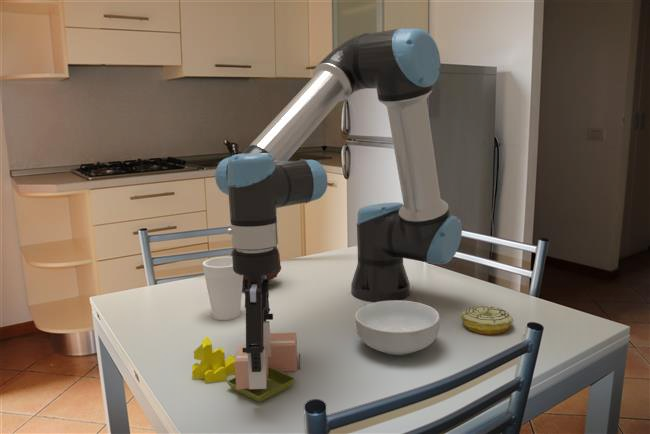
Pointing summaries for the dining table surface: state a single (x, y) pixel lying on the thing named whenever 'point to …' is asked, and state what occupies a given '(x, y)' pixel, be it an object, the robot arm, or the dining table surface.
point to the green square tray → (274, 385)
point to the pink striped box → (283, 352)
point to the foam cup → (223, 287)
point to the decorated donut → (486, 320)
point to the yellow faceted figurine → (212, 363)
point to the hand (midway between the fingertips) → (260, 371)
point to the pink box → (245, 368)
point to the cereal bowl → (397, 326)
